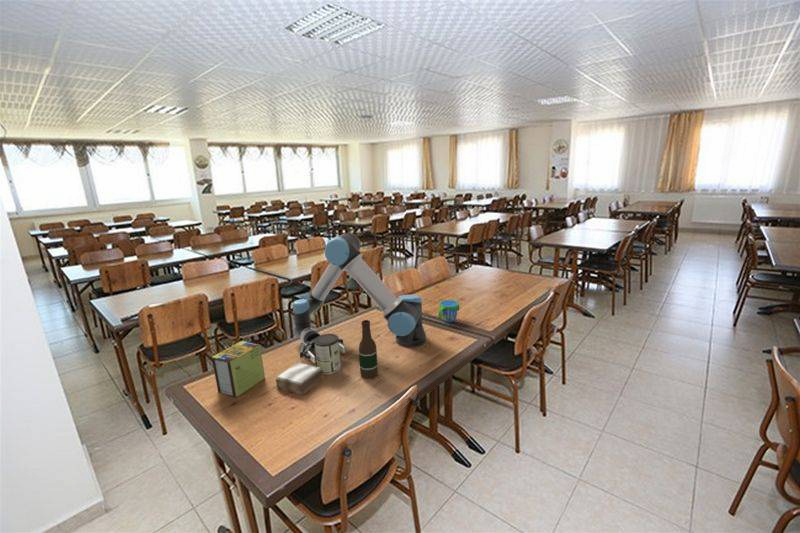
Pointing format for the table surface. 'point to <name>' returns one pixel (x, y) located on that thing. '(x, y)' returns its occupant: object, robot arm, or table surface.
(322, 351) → the coffee can
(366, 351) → the beer bottle
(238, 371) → the protein box
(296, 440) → the table surface
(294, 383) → the stand
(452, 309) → the snack cup
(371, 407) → the table surface
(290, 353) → the table surface
